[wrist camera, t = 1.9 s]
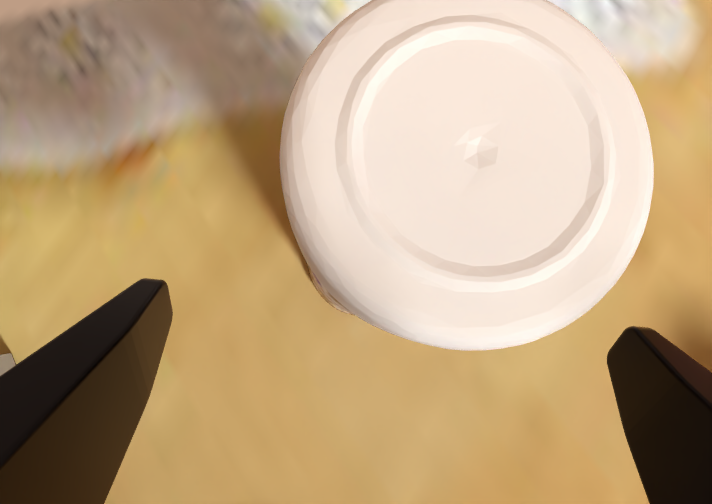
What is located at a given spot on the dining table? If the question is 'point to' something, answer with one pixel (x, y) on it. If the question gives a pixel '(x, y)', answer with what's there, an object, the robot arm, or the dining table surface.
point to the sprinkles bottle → (465, 169)
